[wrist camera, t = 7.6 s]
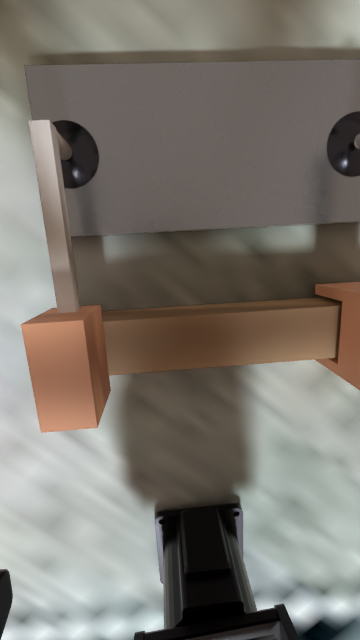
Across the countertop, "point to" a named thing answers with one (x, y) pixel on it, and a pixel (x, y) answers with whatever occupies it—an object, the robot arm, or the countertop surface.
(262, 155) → the flange plate
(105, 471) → the countertop surface
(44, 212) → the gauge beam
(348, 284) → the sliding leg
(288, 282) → the countertop surface
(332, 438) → the countertop surface
